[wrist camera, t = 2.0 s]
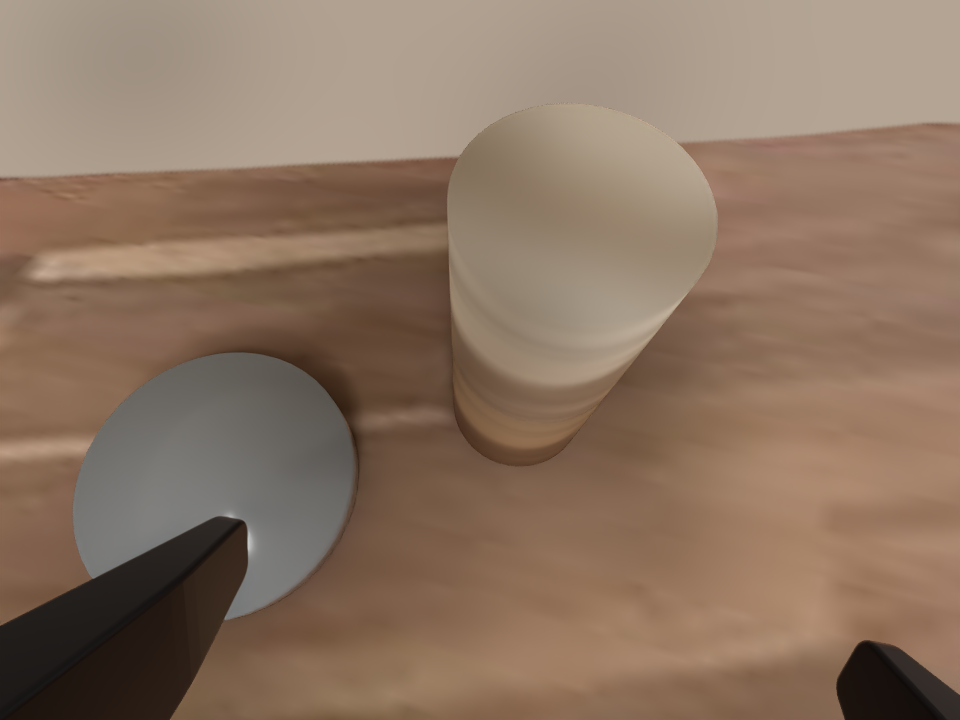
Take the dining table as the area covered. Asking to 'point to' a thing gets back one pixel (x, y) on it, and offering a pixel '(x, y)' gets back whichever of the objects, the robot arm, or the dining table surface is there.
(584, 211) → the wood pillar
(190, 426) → the slate coaster
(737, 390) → the dining table surface
